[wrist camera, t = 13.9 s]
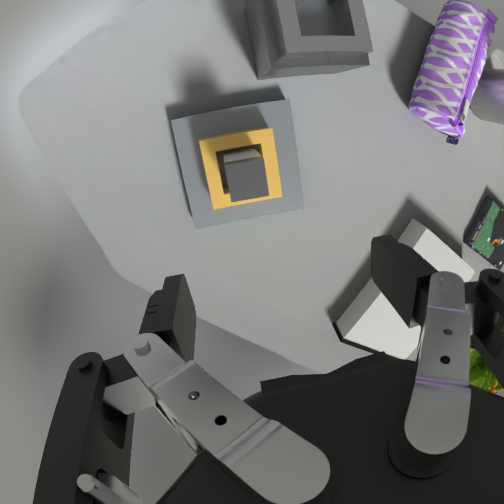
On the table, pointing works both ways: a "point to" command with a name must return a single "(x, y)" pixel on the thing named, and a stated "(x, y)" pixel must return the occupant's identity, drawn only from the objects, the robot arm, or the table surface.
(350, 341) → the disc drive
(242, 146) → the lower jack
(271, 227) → the table surface
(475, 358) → the potted flower
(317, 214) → the table surface
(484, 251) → the disk drive
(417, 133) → the table surface
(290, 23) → the grey open sleeve
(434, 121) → the pencil case
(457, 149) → the table surface
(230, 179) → the plug
